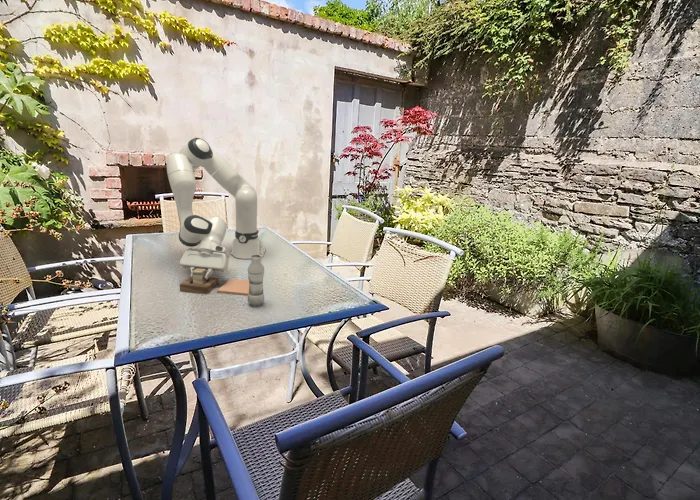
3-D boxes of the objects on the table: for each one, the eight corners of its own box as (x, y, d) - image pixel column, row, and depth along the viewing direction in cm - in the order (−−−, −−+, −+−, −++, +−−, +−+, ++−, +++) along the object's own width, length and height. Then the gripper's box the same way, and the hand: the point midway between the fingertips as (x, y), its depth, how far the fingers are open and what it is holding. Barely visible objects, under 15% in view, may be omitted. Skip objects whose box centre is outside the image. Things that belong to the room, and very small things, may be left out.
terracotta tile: (230, 280, 161) (230, 278, 161) (260, 283, 161) (260, 281, 160) (217, 292, 148) (217, 290, 148) (249, 295, 147) (249, 293, 147)
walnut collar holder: (193, 281, 157) (193, 275, 156) (218, 284, 157) (218, 277, 156) (179, 291, 146) (179, 284, 145) (206, 294, 146) (206, 287, 145)
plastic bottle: (247, 308, 136) (247, 259, 131) (247, 300, 142) (247, 253, 137) (264, 307, 138) (265, 258, 133) (263, 300, 144) (264, 253, 139)
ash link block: (197, 285, 153) (197, 268, 151) (206, 286, 153) (206, 269, 151) (193, 288, 150) (192, 271, 147) (202, 289, 149) (201, 272, 147)
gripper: (183, 244, 154) (172, 272, 147) (228, 248, 153) (219, 277, 146) (189, 251, 160) (178, 278, 153) (233, 255, 158) (224, 283, 152)
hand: (199, 278), depth 150 cm, fingers closed on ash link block, 4 cm apart
